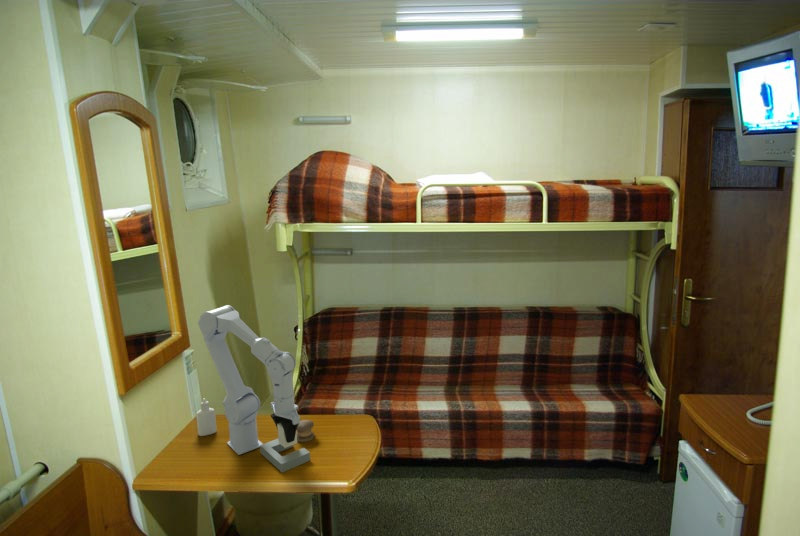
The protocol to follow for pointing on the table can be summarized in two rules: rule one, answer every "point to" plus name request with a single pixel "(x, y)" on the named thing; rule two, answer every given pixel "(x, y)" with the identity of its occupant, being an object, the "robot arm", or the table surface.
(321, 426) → the table surface
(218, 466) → the table surface
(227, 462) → the table surface
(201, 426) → the eye dropper bottle
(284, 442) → the block
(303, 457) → the notched board
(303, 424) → the brown knob
